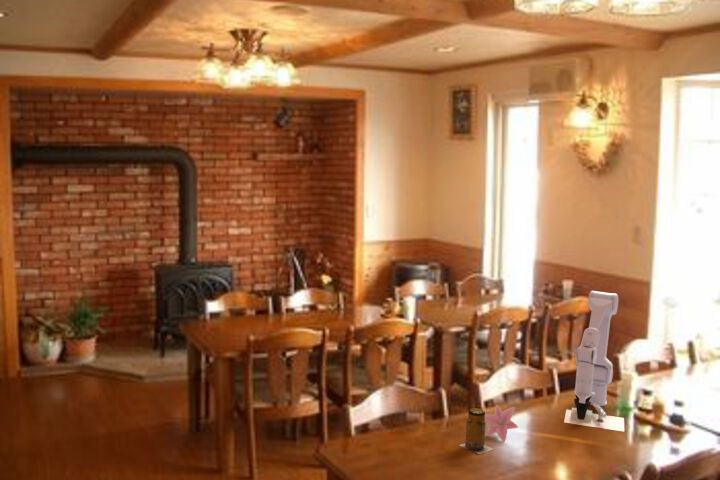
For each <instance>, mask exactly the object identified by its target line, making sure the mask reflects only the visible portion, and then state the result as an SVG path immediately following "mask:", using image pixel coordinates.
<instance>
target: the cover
mask: <svg viewBox="0 0 720 480" xmlns="http://www.w3.org/2000/svg"><path fill="white" fill-rule="evenodd" d="M570 410H571V419H574V420H581V419H578V417H577V408H576V407H571V409H570ZM592 413H593V410H590V409H587V411H586V415H585V418H584V420H581V421H588V422H591V419H592Z"/></svg>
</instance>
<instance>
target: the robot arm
mask: <svg viewBox="0 0 720 480" xmlns="http://www.w3.org/2000/svg"><path fill="white" fill-rule="evenodd" d="M587 299H588V300H587V302H588V303H587V304H588V306H589V309H590V311H591V313H590V319H589V324H588V328H585V329H584V332H583V335H582V338H581V342H580V345H579V346H578V347H576V350H575V367H576V374H575V387H574V392H573V393H574V396H575V398H574V399H573V400H574V401H573V402H574V405H575V408H577V417H578V419H581V420H584V418H585V415H586V411H587V410H589V409H588V408H589V407H590V406H593V402H597V403H598V404H599V405H600V407H603V406H606V405H607V402H608V401H607V394H608V393H607V392H608V385H609V384H610V383H612V381H613V378H614V370H613V369H614V366H613V363H612V361H610V360H609V359H608V357H607V352H608V346H609V345H608V344H609V337H610V336H609V335H610V329H611V328H610V326H611V319H612V316H616V315H617V312H618V307H619V295H618V294H617V293H610V292H604V291H598V290H597V291H596V290H591V291H590V292H589V295H588V298H587Z"/></svg>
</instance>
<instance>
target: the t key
mask: <svg viewBox="0 0 720 480" xmlns="http://www.w3.org/2000/svg"><path fill="white" fill-rule="evenodd" d="M592 406H593V407H594V408H595V410H596V411H597V414H598V421H603V417H604V418H606V415H607V413H606V412H605V411H604V409H603V407H602V406H600V405H599V404H598V403H597V402H593V405H592Z"/></svg>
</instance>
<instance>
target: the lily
mask: <svg viewBox="0 0 720 480" xmlns="http://www.w3.org/2000/svg"><path fill="white" fill-rule="evenodd" d="M515 410H516V407H515V406H512V407H509V408H506V409H504V410H502V409H501V407H500V406H499V405H498V404H496V405H495V408H494V414H493V413H491V414H485V420H486V425H489V428H488V431H487V433H486V436H487V437H488V436H492V435H494V434H497V436H498V437H499V439H500V440H501V441H502V442H506V439H507V435H508V434H507V433H508V430H511V429H518V428H519V426H518V425H517V423H515V422H514V421H512V420H511V419H512V417H513V414H514V412H515Z"/></svg>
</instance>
